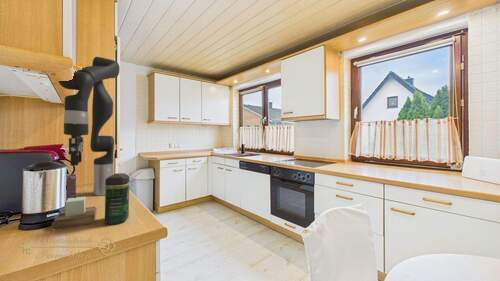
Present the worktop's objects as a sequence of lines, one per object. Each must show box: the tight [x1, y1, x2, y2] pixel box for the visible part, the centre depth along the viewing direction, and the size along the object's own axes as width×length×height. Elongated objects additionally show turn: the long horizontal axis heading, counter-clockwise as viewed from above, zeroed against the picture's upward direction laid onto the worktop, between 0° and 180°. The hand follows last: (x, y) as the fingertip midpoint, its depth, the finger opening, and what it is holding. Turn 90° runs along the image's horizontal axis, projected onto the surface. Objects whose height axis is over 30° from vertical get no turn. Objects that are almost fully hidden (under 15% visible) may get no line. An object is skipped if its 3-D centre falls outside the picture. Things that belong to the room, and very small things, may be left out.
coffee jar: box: [104, 172, 130, 225], centre depth 83 cm, size 10×8×19 cm
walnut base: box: [51, 206, 98, 230], centre depth 82 cm, size 12×12×3 cm
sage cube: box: [65, 196, 87, 217], centre depth 82 cm, size 6×6×6 cm
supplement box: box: [66, 173, 77, 201], centre depth 93 cm, size 9×5×16 cm, turn 84°
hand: (76, 163), depth 82 cm, fingers open, 8 cm apart
